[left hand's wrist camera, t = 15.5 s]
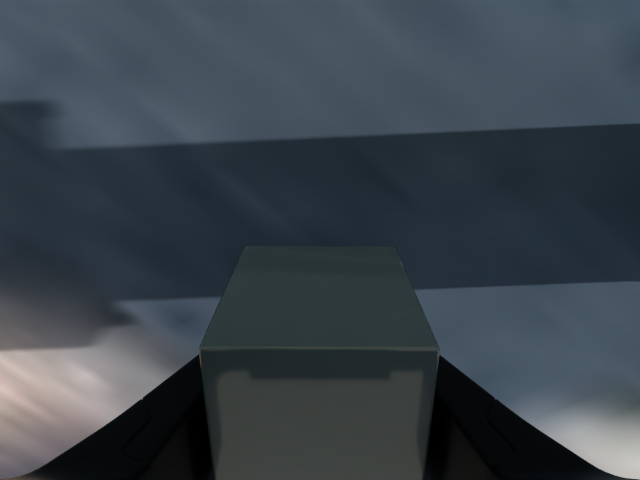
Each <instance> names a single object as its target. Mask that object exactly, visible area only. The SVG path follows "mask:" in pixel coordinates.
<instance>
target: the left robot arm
mask: <svg viewBox="0 0 640 480" xmlns="http://www.w3.org/2000/svg"><path fill="white" fill-rule="evenodd" d="M0 480H213V471H212V462H211V453H210V445H209V436H208V427H207V418H206V410H205V401H204V392H203V384H202V375H201V366H200V357H199V355H197V356H196V357H195V358H194V359H192V360H191V361H190V362H188V363H187V364H186V365H185V366H183V367H182V368H181V369H179V370H178V371H177V372H175V373H174V374H173V375H172V376H170V377H169V378H168V379H166V380H165V381H164V382H163V383H161V384H160V385H159V386H157V387H156V388H155V389H154V390H152V391H151V392H150V393H148V394H147V395H146V396H145V397H143V400H142V399H141V400H139V401H138V402H137V403H135V404H134V405H133V406H131V407H130V408H129V409H127V410H126V411H125V412H123V413H122V414H121V415H119V416H118V417H117V418H115V419H114V420H112V421H111V422H110V423H108V424H107V425H105V426H104V427H102V428H101V429H99V430H98V431H96V432H95V433H93V434H92V435H90V436H89V437H87V438H86V439H84V440H82V441H81V442H79V443H78V444H76V445H75V446H73V447H72V448H70V449H69V450H67V451H66V452H64V453H62V454H61V455H59V456H58V457H56V458H55V459H53V460H52V461H50V462H49V463H47V464H45V465H44V466H42V467H40V468H39V469H37V470H34V471H32V472H30V473H28V474H25V475H22V476H19V477H15V478H9V479H0ZM425 480H638V479H628V478H622V477H618V476H615V475H612V474H609V473H606V472H604V471H602V470H600V469H598V468H596V467H595V466H593V465H591V464H590V463H588V462H587V461H585V460H584V459H582V458H581V457H579V456H578V455H576V454H574V453H573V452H571V451H570V450H568V449H567V448H565V447H564V446H562V445H561V444H559V443H558V442H556V441H555V440H553V439H552V438H550V437H548V436H547V435H545V434H544V433H542V432H541V431H539V430H538V429H537V428H535V427H534V426H532V425H531V424H529V423H528V422H526V421H525V420H523V419H522V418H521V417H519V416H518V415H517V414H515V413H514V412H513V411H511V410H510V409H509V408H507V407H506V406H505V405H503V404H502V403H501V402H500V401H498V400H497V399H495V398H494V397H493V396H492V395H490V394H489V393H488V392H487V391H485V390H484V389H483V388H481V387H480V386H479V385H478V384H476V383H475V382H474V381H473V380H471V379H470V378H469V377H467V376H466V375H465V374H464V373H462V372H461V371H460V370H458V369H457V368H456V367H455V366H453V365H452V364H451V363H450V362H448V361H447V360H446V359H444V358H443V357H442V356H441V355H439V362H438V370H437V379H436V387H435V396H434V404H433V412H432V421H431V429H430V438H429V446H428V454H427V463H426V471H425Z"/></svg>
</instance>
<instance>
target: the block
mask: <svg viewBox="0 0 640 480" xmlns="http://www.w3.org/2000/svg"><path fill="white" fill-rule="evenodd" d="M439 353H440V349H439V346H438V344H437V342H436V339H435V337H434V335H433V332H432V330H431V328H430V326H429V323H428V321H427V319H426V316H425V314H424V312H423V309H422V307H421V305H420V303H419V300H418V298H417V296H416V293H415V291H414V289H413V287H412V284H411V282H410V280H409V277H408V275H407V273H406V271H405V268H404V266H403V264H402V261H401V259H400V257H399V255H398V252H397V250H396V248H395V247H393V246H245V247H244V248H243V250H242V252H241V254H240V257H239V259H238V261H237V263H236V266H235V268H234V270H233V272H232V275H231V277H230V279H229V281H228V284H227V286H226V288H225V290H224V293H223V295H222V297H221V300H220V302H219V304H218V306H217V309H216V311H215V313H214V315H213V318H212V320H211V322H210V324H209V327H208V329H207V331H206V333H205V336H204V338H203V340H202V342H201V345H200V347H199V357H200V366H201V375H202V384H203V392H204V401H205V410H206V418H207V427H208V436H209V445H210V453H211V462H212V471H213V480H425V471H426V463H427V454H428V446H429V438H430V429H431V421H432V412H433V404H434V396H435V387H436V379H437V370H438V362H439Z"/></svg>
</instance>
